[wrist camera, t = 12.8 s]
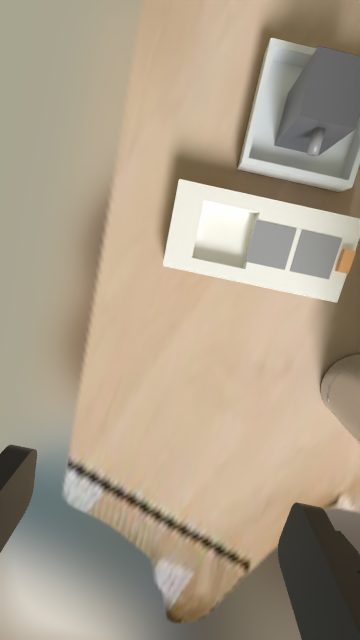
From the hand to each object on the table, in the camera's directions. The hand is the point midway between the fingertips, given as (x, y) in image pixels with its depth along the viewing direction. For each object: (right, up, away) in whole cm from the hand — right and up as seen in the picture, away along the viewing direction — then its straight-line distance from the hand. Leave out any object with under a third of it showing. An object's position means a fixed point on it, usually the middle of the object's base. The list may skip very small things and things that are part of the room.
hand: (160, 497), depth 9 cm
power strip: (+9, +15, +25) cm, 31 cm away
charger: (+14, +26, +21) cm, 37 cm away
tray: (+14, +26, +22) cm, 37 cm away
